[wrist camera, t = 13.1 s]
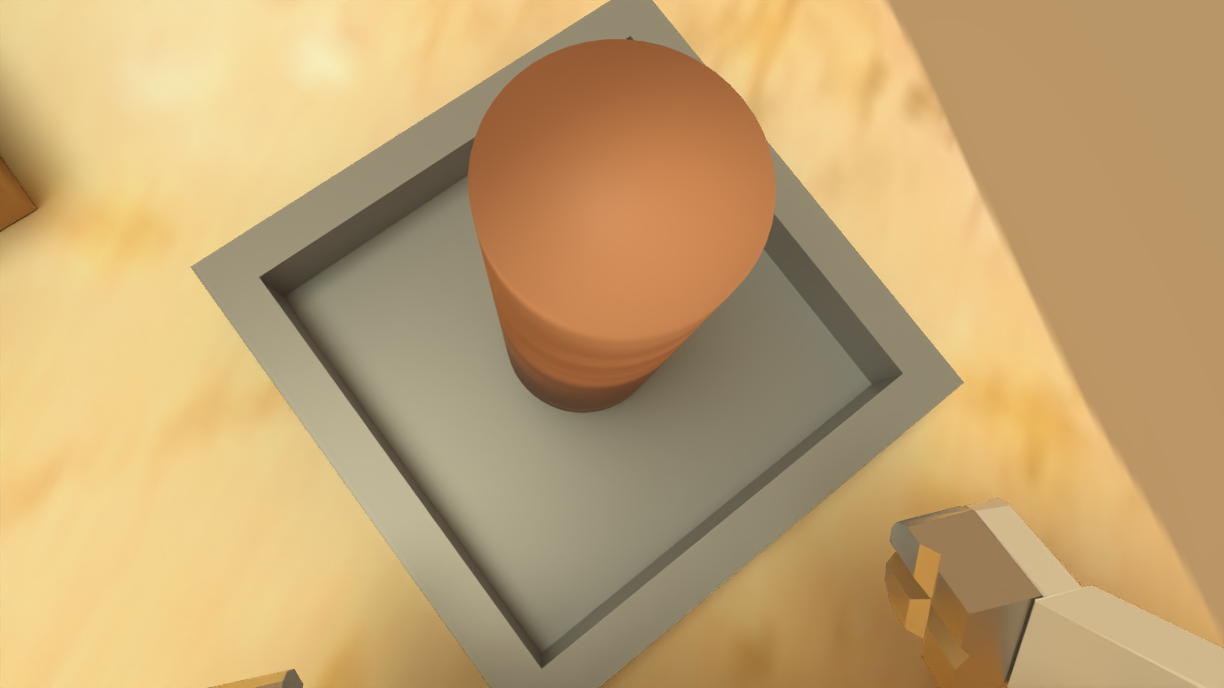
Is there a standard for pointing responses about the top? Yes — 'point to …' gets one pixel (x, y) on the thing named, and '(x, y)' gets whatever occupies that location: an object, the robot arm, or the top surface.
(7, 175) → the socket block
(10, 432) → the top surface
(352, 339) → the tray
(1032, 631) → the robot arm
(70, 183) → the top surface
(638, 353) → the dowel
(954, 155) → the top surface
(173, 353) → the top surface
